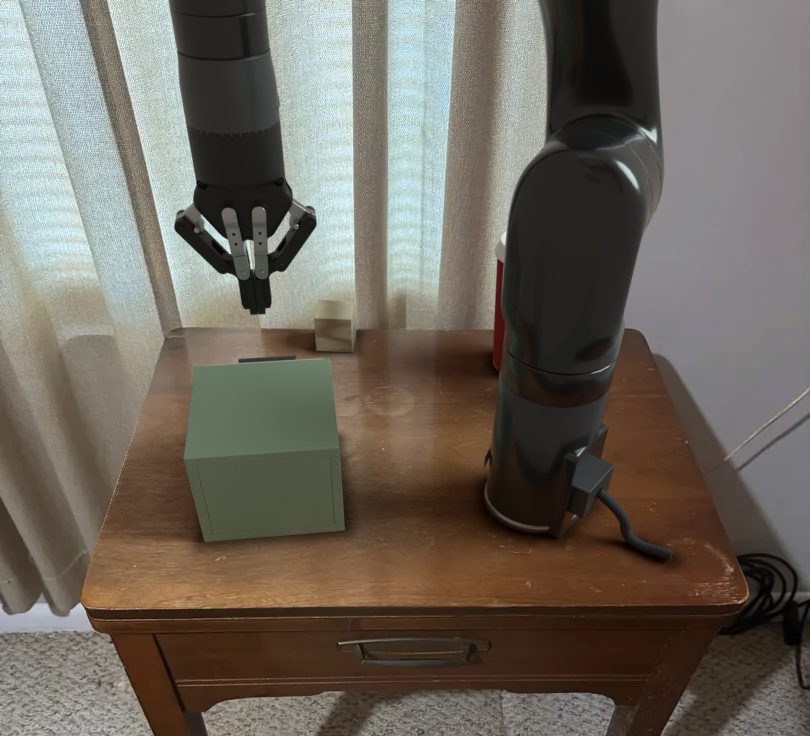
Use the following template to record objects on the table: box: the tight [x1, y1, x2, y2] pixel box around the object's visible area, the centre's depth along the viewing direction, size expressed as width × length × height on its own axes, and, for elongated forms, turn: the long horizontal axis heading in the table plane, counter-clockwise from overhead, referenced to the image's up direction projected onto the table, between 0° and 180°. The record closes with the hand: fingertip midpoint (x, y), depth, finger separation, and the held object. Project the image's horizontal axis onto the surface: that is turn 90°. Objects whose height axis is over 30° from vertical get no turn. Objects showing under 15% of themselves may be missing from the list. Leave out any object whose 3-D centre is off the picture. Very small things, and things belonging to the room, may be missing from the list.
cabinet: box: [183, 358, 346, 543], centre depth 71 cm, size 14×13×10 cm
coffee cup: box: [492, 230, 507, 372], centre depth 85 cm, size 8×8×15 cm
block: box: [313, 299, 357, 353], centre depth 91 cm, size 4×4×4 cm
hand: (258, 310), depth 73 cm, fingers closed
